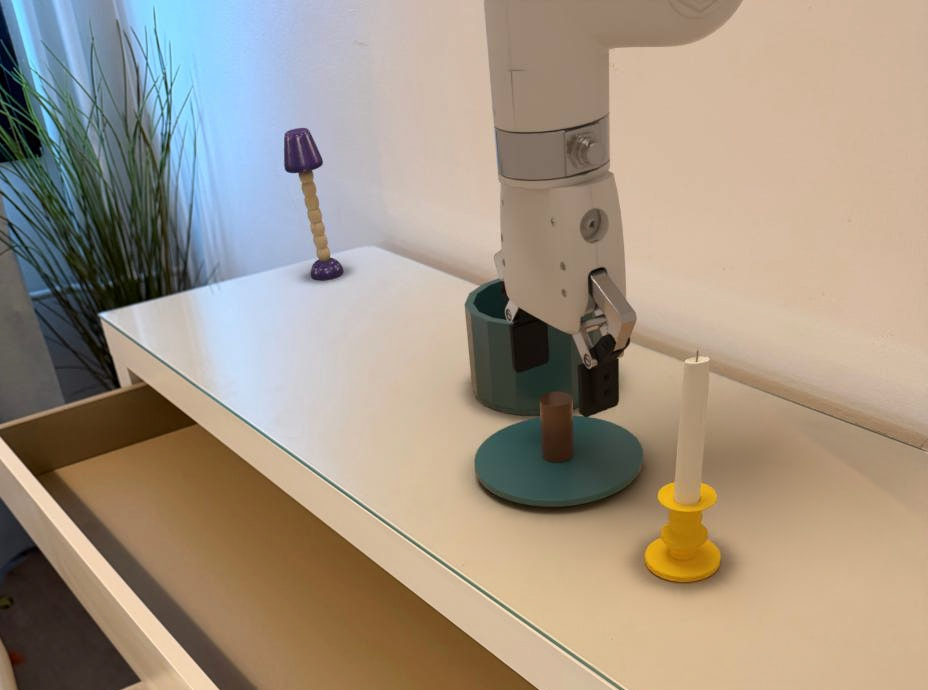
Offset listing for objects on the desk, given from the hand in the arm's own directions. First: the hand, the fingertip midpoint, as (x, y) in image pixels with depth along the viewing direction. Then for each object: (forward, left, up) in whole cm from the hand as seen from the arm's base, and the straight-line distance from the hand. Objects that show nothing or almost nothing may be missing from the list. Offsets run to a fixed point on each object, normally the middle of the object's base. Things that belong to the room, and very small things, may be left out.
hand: (563, 387), depth 73 cm
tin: (-13, -9, -7) cm, 17 cm away
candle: (+8, +14, -7) cm, 18 cm away
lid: (0, 0, -6) cm, 6 cm away
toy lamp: (-31, -50, -7) cm, 59 cm away
